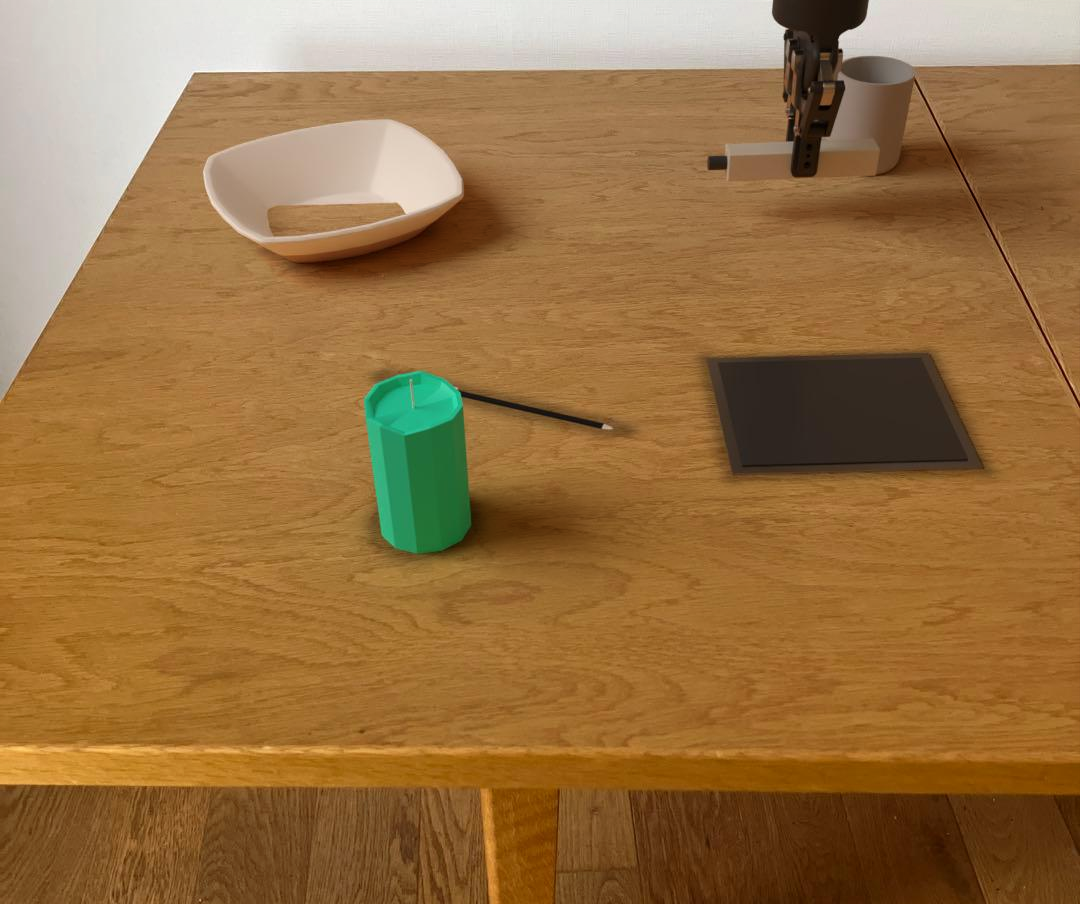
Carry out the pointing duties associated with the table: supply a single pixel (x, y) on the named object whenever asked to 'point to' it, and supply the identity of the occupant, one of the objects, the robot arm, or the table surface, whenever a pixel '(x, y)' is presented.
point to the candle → (419, 461)
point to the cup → (875, 104)
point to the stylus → (777, 157)
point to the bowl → (334, 184)
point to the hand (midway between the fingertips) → (799, 167)
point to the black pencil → (534, 410)
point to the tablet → (837, 415)
